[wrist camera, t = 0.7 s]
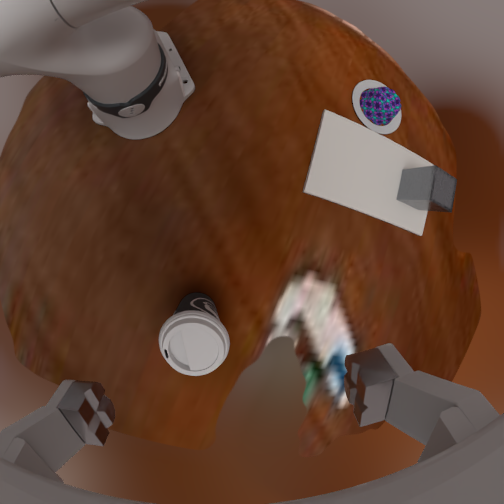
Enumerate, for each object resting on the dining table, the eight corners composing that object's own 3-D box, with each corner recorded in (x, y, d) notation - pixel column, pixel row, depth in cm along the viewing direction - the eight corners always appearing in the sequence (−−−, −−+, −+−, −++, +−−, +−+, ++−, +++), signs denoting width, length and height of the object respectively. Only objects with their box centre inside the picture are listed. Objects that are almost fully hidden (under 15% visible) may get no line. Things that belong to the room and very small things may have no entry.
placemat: (302, 192, 48) (304, 191, 47) (323, 111, 47) (325, 109, 46) (418, 235, 53) (421, 236, 52) (432, 166, 51) (435, 165, 50)
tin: (418, 210, 51) (451, 212, 42) (396, 199, 50) (429, 200, 40) (424, 181, 51) (456, 179, 41) (402, 169, 49) (435, 165, 40)
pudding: (371, 143, 49) (386, 139, 44) (339, 91, 47) (351, 81, 41) (407, 123, 50) (422, 117, 44) (379, 74, 47) (392, 66, 42)
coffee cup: (175, 278, 48) (162, 308, 33) (230, 290, 49) (238, 325, 35) (166, 327, 49) (152, 372, 34) (217, 339, 50) (222, 386, 36)
